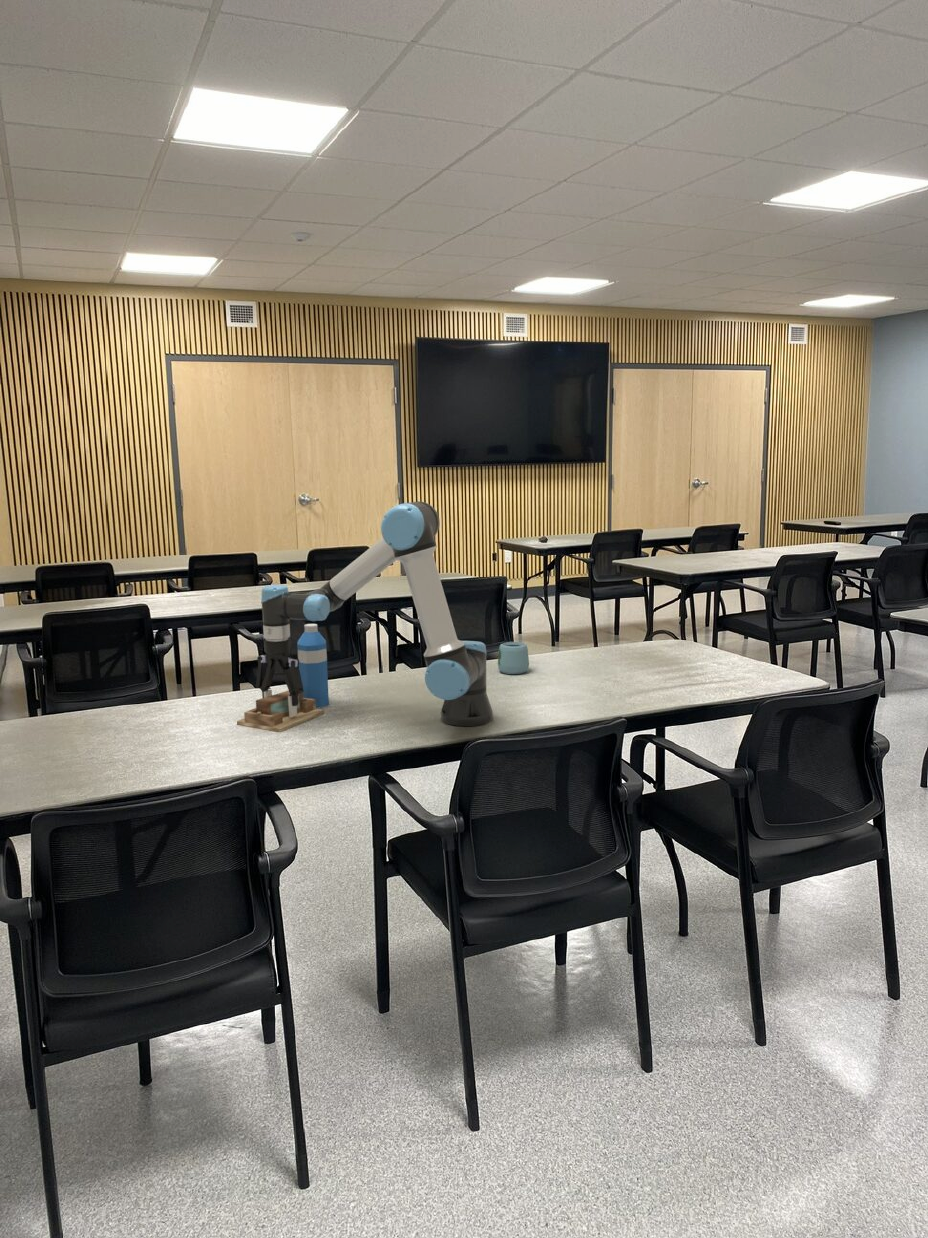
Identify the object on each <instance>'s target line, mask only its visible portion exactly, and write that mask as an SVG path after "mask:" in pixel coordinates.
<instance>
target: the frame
mask: <svg viewBox="0 0 928 1238" xmlns="http://www.w3.org/2000/svg"><path fill="white" fill-rule="evenodd" d="M293 691H294V690H293ZM289 695H290V692H289V690H285V691H282V692H278V693H277V694H276V693H275V694H272V696H269V697H265V698H263V697H262V698H259V699H256V700H255V708H256V712H259V711H260V712H261V714H266V715H272V714H274V713H277V712H282V717H283V718H284V717H287V716H289V704H288V696H289ZM302 702H303V692H302V693H300V694H298V705H297V713H299V712H302V704H301V703H302Z"/></svg>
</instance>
